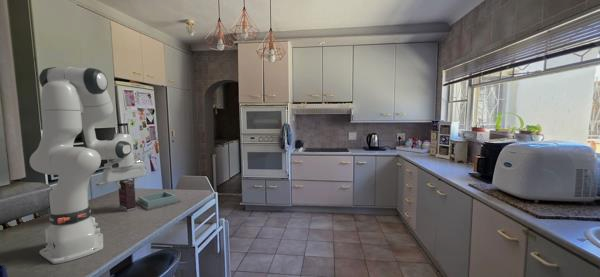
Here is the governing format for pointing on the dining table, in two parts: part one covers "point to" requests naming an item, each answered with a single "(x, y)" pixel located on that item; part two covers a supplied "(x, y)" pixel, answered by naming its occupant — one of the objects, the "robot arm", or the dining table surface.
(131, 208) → the supplement box
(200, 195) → the dining table surface
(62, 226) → the robot arm
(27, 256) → the dining table surface
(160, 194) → the tray
